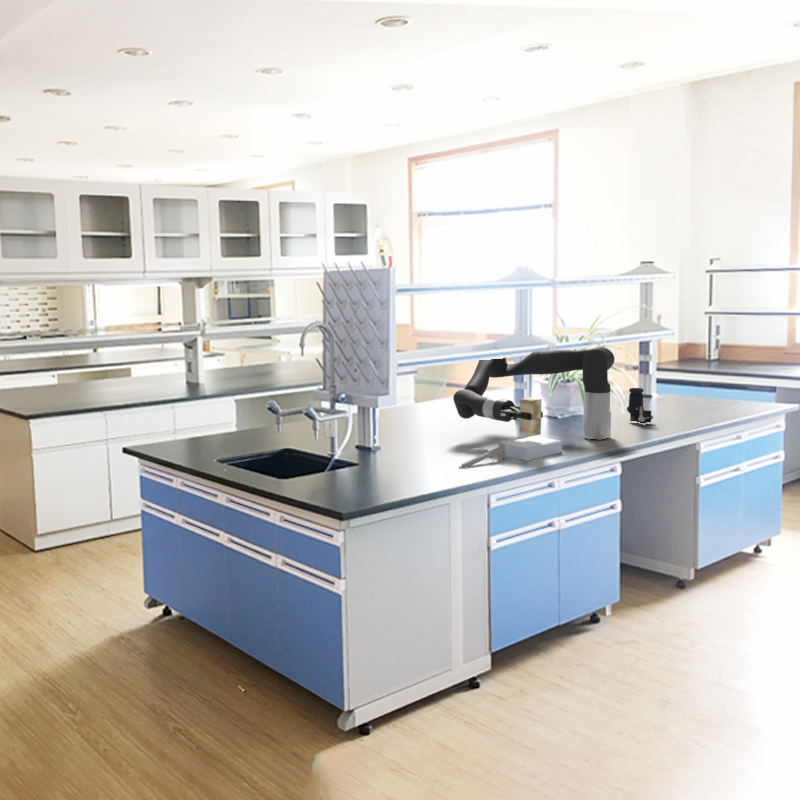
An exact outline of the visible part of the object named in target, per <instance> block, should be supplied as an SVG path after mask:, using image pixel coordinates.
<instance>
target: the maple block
mask: <svg viewBox="0 0 800 800" xmlns="http://www.w3.org/2000/svg"><path fill="white" fill-rule="evenodd" d="M542 401H543V400H542V398H537V397H524V398H520V399H519V406H520V411H521V412H526V413H531V414H532V420H526V419H519V435H520V436H522V435H523V436H527V437H532V436H539V435H540V436H541V434H542V433H541V432H542V418H541V411H542Z"/></svg>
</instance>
